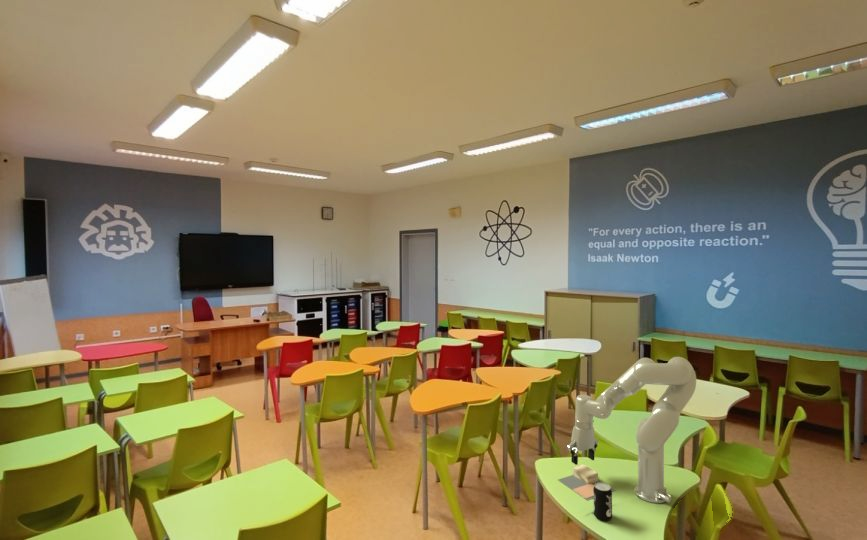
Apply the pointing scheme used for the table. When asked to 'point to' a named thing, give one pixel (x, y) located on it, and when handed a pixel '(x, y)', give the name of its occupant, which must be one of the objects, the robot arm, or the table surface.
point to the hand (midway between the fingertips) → (582, 461)
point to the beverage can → (602, 501)
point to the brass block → (585, 474)
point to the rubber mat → (580, 486)
